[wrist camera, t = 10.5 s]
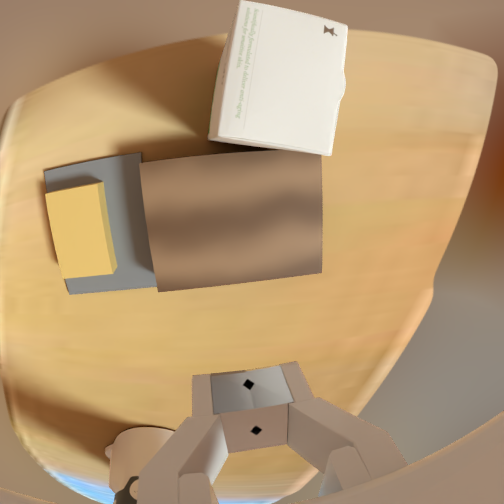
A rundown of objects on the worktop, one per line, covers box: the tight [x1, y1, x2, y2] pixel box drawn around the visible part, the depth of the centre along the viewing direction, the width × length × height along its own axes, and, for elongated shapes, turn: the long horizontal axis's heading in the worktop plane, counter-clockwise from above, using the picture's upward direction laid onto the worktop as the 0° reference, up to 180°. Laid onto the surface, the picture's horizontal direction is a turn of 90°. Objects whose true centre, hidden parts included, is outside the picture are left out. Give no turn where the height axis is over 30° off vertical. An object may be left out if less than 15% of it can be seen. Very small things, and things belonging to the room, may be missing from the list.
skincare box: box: [208, 0, 348, 156], centre depth 21 cm, size 8×7×16 cm
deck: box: [139, 149, 322, 292], centre depth 29 cm, size 12×16×4 cm
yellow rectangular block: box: [45, 182, 117, 279], centre depth 28 cm, size 9×6×2 cm, turn 3°
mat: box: [44, 152, 157, 295], centre depth 29 cm, size 14×11×1 cm
